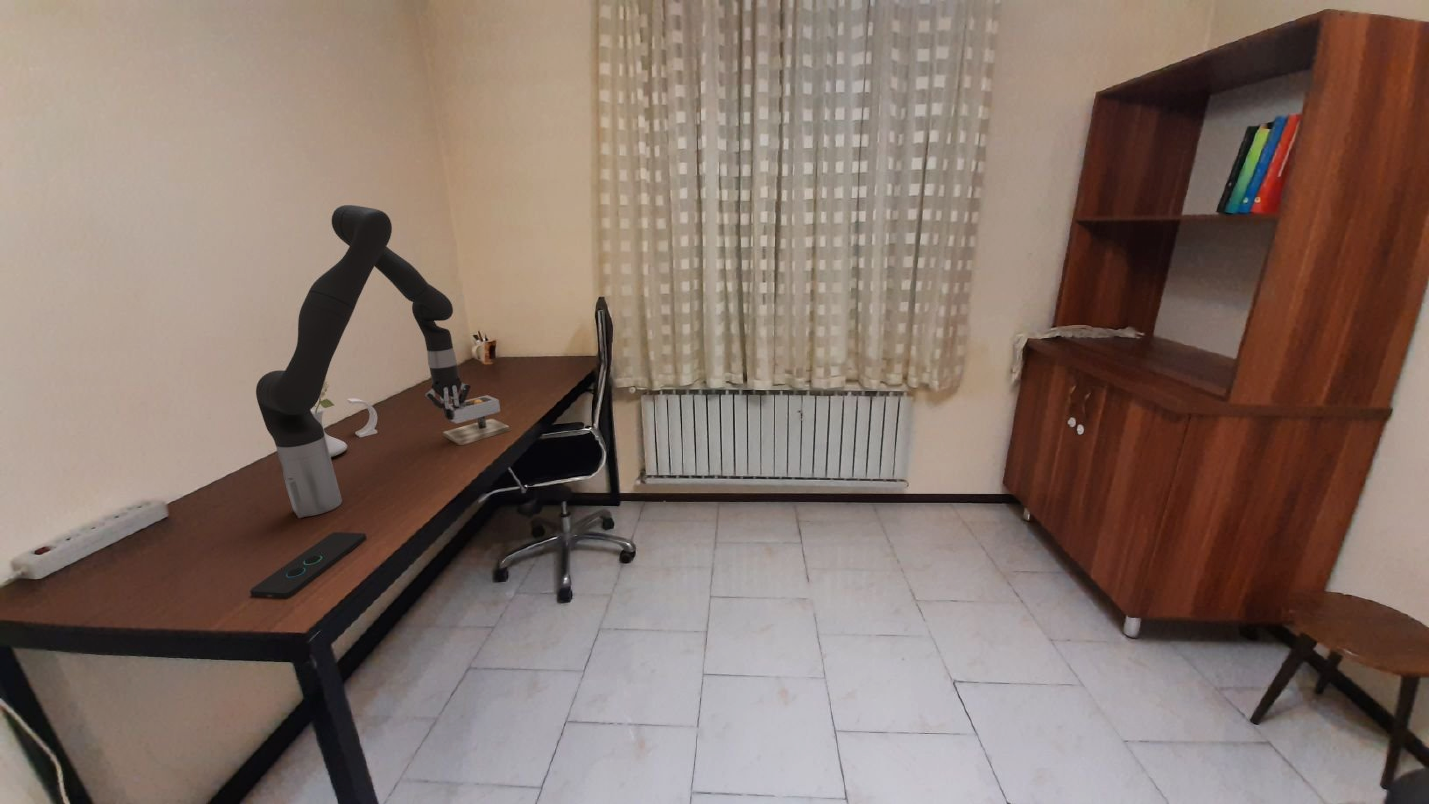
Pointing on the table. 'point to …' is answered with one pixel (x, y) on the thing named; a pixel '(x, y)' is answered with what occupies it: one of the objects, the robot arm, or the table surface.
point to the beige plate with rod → (476, 430)
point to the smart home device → (308, 566)
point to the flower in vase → (332, 443)
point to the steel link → (474, 409)
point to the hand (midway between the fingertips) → (453, 418)
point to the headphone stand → (372, 419)
